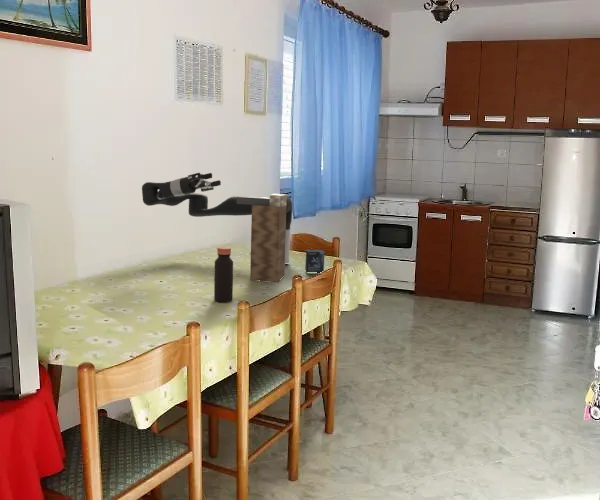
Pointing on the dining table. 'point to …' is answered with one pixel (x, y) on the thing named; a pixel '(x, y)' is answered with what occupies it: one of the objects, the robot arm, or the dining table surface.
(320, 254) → the box
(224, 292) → the bottle
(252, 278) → the stand
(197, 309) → the dining table surface
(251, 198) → the dark grey matte block
